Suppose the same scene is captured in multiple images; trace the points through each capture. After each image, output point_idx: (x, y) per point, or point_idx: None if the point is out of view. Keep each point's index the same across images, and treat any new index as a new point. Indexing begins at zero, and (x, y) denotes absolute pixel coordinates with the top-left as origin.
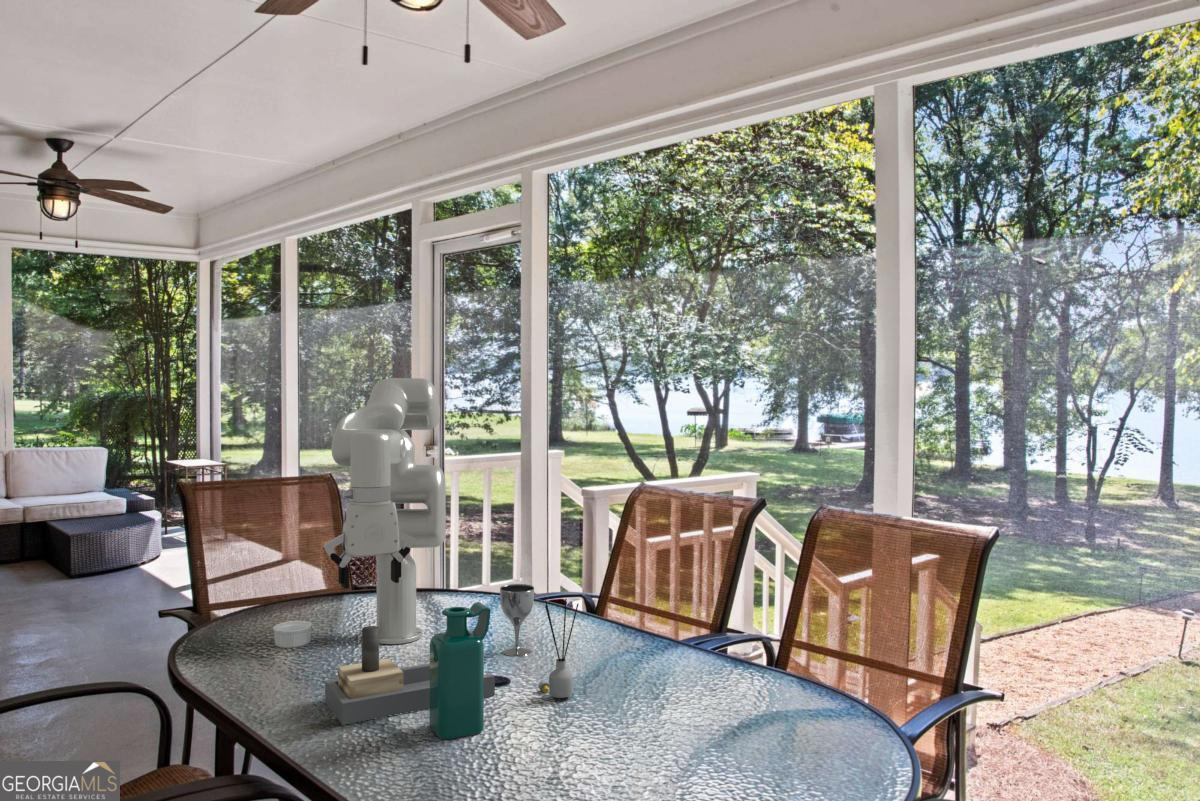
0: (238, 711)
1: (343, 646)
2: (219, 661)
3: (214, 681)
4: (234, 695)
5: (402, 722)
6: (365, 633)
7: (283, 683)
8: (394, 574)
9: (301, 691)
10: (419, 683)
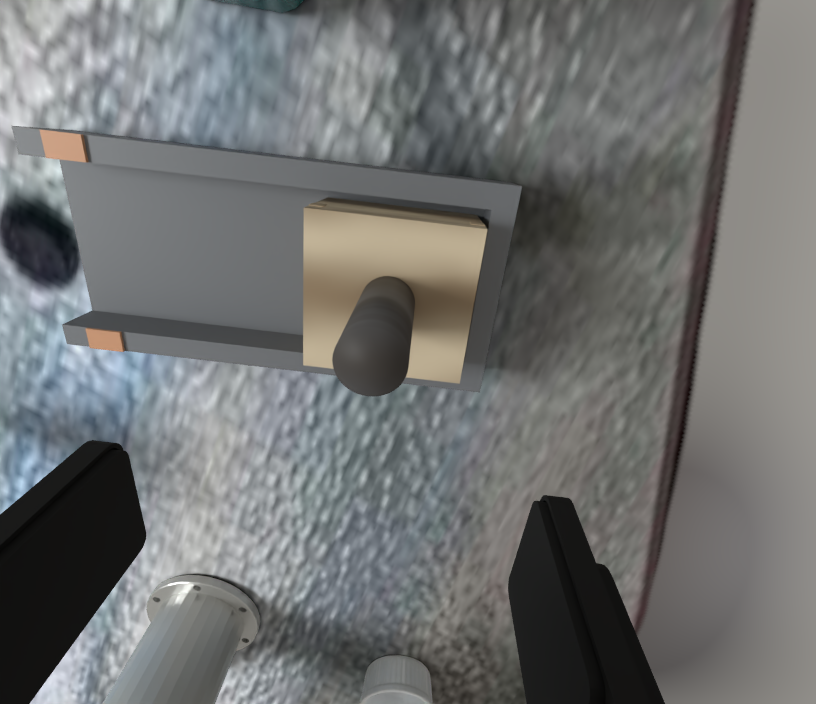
0: (652, 417)
1: (319, 618)
2: None
3: None
4: (611, 502)
5: (367, 97)
6: (402, 340)
7: (501, 509)
8: (79, 516)
9: (491, 449)
10: (242, 318)
